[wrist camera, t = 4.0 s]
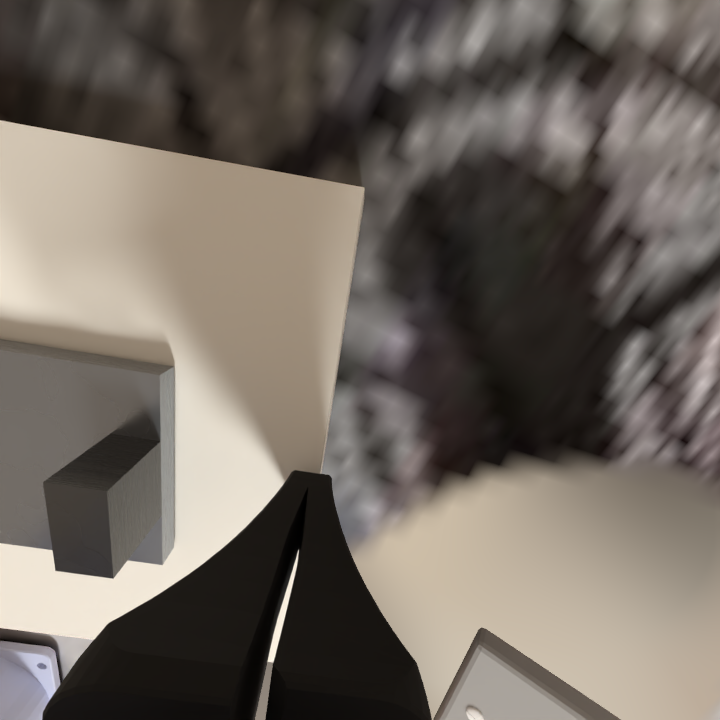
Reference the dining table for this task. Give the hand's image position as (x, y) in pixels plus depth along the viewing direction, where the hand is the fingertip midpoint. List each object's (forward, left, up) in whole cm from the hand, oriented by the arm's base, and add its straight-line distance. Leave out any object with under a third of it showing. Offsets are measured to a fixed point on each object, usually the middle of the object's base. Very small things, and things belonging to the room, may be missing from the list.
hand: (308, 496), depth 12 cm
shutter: (0, +9, -1) cm, 9 cm away
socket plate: (0, +9, -3) cm, 9 cm away
